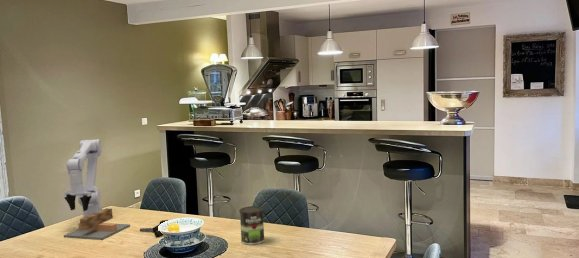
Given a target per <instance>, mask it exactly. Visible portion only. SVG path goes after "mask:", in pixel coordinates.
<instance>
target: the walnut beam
mask: <svg viewBox="0 0 579 258" xmlns="http://www.w3.org/2000/svg"><path fill="white" fill-rule="evenodd" d="M113 218H114V217H113V208H108V207H107V208H104V209H103V208H102V210H101V211H99V212H96V213H94V214H91V215H89V216H86V217H82V218H80V219H79V223H80V225H81V229H83V230H88V229H90V228H92V227H94V226H97V225H99V224H101V223H107V222H108V221H111V220H112V219H113Z"/></svg>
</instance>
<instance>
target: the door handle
mask: <svg viewBox="0 0 579 258" xmlns="http://www.w3.org/2000/svg"><path fill="white" fill-rule="evenodd" d="M165 221H168V219H164V220H163V219H162V220H160V222H159V224H158V225H156V226H154V227H141V228H139V232H141V233H153V234H154V237H156V238H159V237H161V236H163V235H162V233H161V232H160V231H158V226H159V225H160V224H161V223H163V222H165Z"/></svg>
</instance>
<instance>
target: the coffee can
mask: <svg viewBox="0 0 579 258" xmlns="http://www.w3.org/2000/svg"><path fill="white" fill-rule="evenodd" d="M239 222H240V225H239V226H240V237H241V239H240V243H241V244H242V245H243V244H244V245H247V246H249V245H250V246H251V245H259V244H262V243H264V242H265V229H264V228H265V227H264V226H265V224H264V223H265V222H264V208H263V207H261V206H258V205H256V206H253V205H252V206H244V207H241V208H240V209H239Z"/></svg>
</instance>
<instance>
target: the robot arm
mask: <svg viewBox="0 0 579 258" xmlns="http://www.w3.org/2000/svg"><path fill="white" fill-rule="evenodd" d="M102 147H103V145H102V141H101V140H100V138H97V139H81V140H80V141H79V150H77V151H76V152H75V153H74V155H73V156H72V157H71V158H70V159H68V160H67V161H66V169H67V173H68V176H69V182H70V183H69V185H70V190H67V191H66V190H65V191H63V192H64V196H65V197H64V200H65V201H66V202H67V204H68V206H69V209H70V211H75V210H76V198H77V202H78V204H79V205H80V206H81V207H82V214H83V217H82V218H84V217H86V216H89V215H91V214H94V213H96V212H99V211H101V210H103V206H102V203H100V202H101V191H100V189H99V188H98V187H96V178H97V170H98V169H97V167H98V159H99V157H101V156H102V155H101V154H102ZM86 159H87V164H86V174H85V181H84V176H83V170H84V167H85V161H86ZM84 182H85V183H84Z"/></svg>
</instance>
